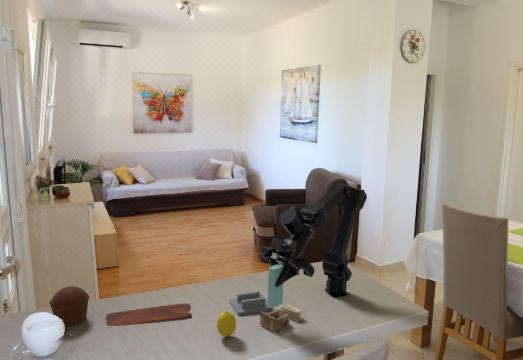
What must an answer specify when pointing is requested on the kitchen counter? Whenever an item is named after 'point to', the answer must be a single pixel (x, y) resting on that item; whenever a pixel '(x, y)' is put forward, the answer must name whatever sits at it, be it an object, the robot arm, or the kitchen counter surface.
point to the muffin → (70, 305)
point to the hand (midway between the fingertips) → (272, 285)
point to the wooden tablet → (149, 315)
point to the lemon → (226, 324)
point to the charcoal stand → (250, 303)
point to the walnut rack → (273, 320)
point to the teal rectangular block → (275, 292)
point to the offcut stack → (291, 312)
